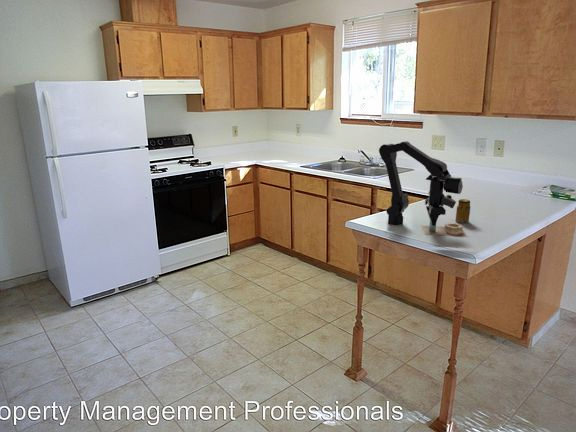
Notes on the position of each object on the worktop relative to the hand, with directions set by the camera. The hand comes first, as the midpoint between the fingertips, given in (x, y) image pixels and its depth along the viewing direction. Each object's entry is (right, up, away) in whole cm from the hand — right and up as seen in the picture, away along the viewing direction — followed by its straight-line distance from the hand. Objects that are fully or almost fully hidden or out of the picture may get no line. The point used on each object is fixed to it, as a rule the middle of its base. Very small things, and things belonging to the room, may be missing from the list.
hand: (432, 224), depth 194 cm
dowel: (0, -3, +1) cm, 3 cm away
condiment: (+19, -1, +14) cm, 24 cm away
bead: (+9, -3, -1) cm, 9 cm away
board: (+5, -4, +1) cm, 7 cm away
